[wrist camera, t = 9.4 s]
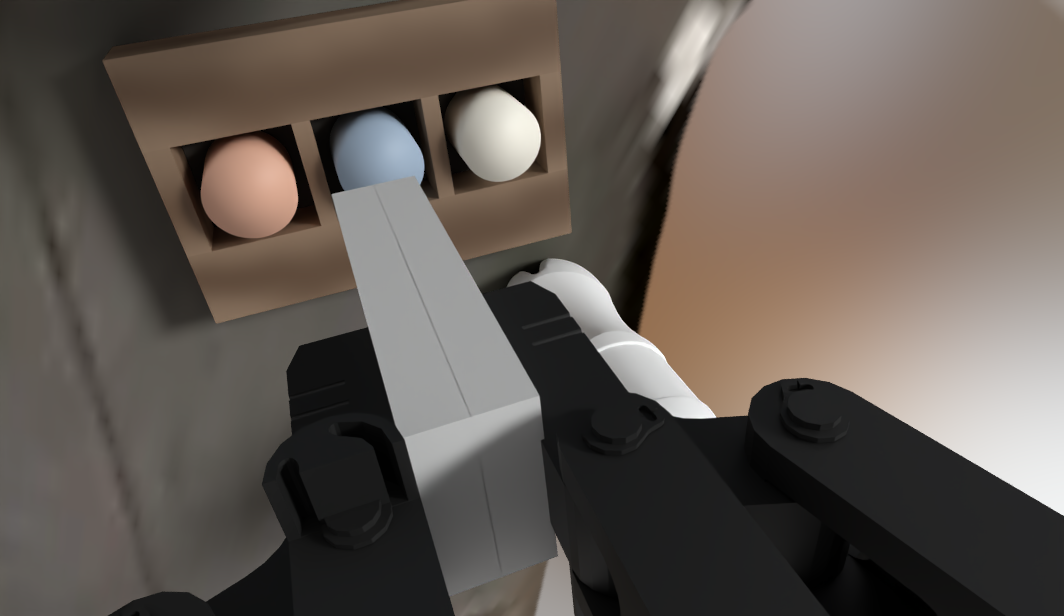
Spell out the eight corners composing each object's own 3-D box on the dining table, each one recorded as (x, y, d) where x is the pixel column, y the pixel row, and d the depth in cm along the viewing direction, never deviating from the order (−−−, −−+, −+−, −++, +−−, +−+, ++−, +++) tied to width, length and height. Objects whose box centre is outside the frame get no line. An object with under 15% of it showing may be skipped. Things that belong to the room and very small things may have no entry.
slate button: (319, 113, 36) (327, 136, 33) (400, 97, 37) (415, 118, 34) (340, 189, 39) (349, 217, 36) (415, 172, 40) (430, 198, 37)
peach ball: (191, 138, 35) (186, 164, 32) (279, 121, 36) (283, 145, 33) (221, 215, 37) (219, 247, 34) (302, 197, 38) (308, 226, 35)
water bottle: (606, 288, 49) (852, 569, 29) (532, 354, 50) (724, 670, 30) (549, 226, 45) (792, 506, 25) (470, 299, 46) (645, 626, 26)
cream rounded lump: (438, 90, 38) (455, 110, 35) (513, 75, 39) (537, 93, 36) (450, 164, 40) (468, 189, 37) (520, 149, 41) (543, 172, 38)
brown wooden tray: (112, 46, 32) (102, 60, 29) (534, -22, 37) (555, -15, 34) (217, 296, 40) (216, 323, 37) (553, 213, 45) (571, 232, 42)
